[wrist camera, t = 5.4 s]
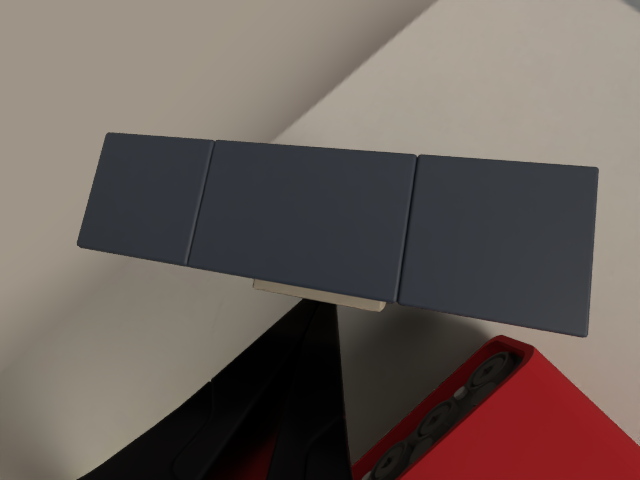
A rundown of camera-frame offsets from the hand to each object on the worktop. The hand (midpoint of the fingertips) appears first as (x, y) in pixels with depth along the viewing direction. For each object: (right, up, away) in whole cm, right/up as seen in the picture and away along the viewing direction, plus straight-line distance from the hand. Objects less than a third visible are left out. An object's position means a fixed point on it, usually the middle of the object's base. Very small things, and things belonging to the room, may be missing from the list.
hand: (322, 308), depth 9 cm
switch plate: (+2, 0, +8) cm, 8 cm away
